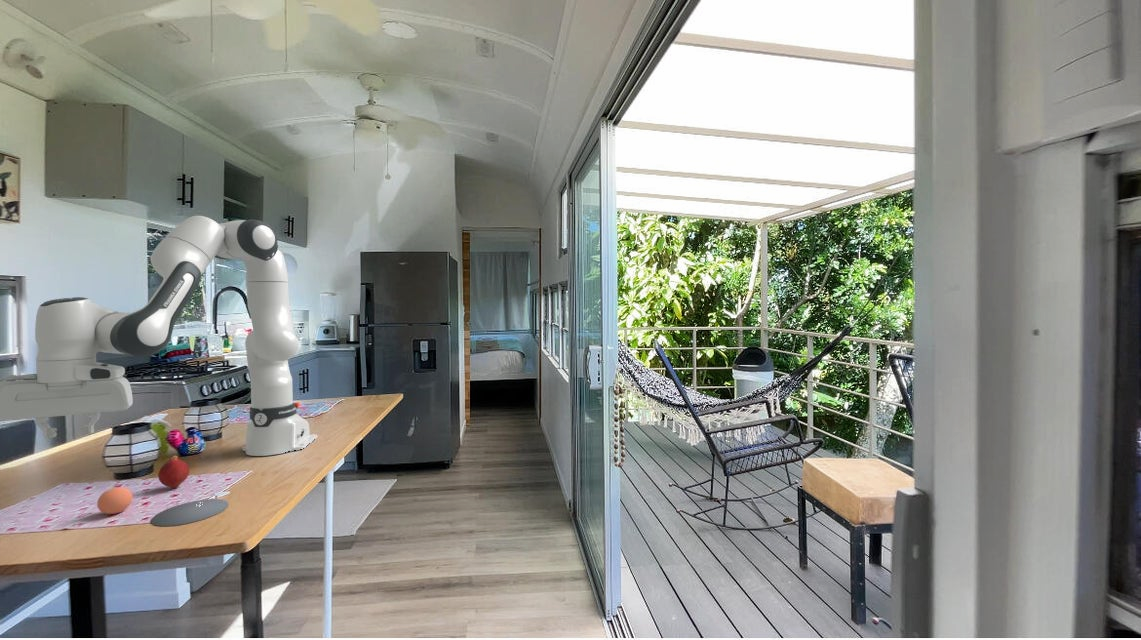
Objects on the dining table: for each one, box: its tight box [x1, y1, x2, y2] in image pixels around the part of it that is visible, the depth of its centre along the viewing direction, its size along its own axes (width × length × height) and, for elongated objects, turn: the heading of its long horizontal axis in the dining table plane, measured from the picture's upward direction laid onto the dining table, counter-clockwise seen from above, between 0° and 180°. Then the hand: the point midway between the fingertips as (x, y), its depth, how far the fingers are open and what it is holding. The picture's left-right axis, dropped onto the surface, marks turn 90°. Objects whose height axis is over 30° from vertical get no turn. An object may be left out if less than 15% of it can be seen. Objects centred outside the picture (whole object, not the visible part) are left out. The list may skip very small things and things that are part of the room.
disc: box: [151, 498, 229, 527], centre depth 101 cm, size 13×13×1 cm
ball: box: [97, 486, 133, 515], centre depth 101 cm, size 6×6×6 cm
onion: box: [158, 455, 190, 489], centre depth 115 cm, size 6×6×8 cm
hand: (69, 435), depth 101 cm, fingers open, 4 cm apart
